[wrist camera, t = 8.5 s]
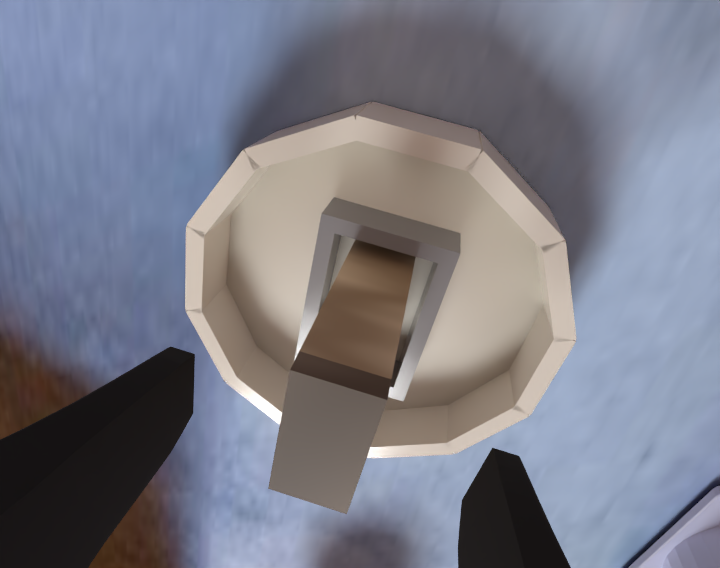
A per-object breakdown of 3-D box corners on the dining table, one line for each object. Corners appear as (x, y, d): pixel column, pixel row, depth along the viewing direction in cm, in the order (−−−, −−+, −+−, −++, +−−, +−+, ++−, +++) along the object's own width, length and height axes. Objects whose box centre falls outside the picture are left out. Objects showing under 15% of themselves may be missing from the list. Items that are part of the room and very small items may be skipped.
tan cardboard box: (417, 248, 15) (387, 399, 9) (387, 341, 17) (346, 513, 11) (359, 232, 15) (289, 370, 9) (336, 325, 17) (268, 488, 11)
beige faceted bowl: (630, 171, 13) (663, 199, 11) (479, 442, 19) (482, 493, 17) (231, 63, 13) (187, 69, 11) (213, 359, 20) (184, 399, 18)
